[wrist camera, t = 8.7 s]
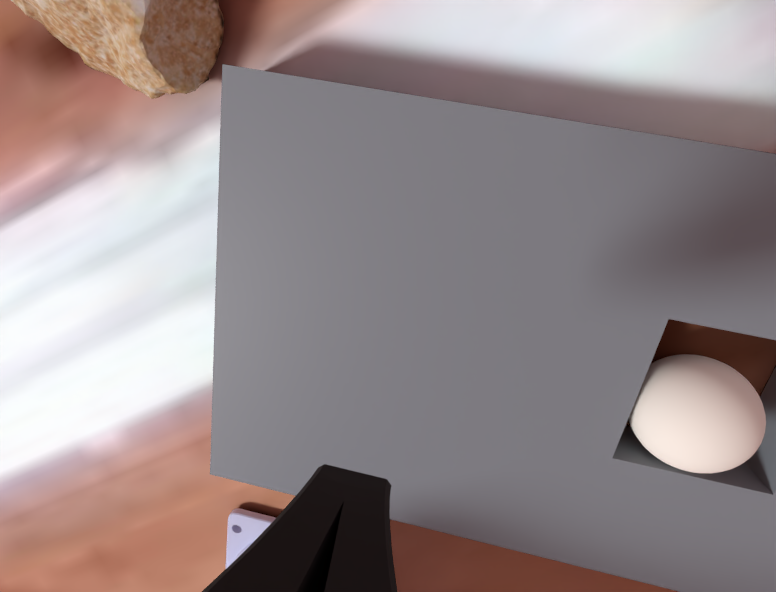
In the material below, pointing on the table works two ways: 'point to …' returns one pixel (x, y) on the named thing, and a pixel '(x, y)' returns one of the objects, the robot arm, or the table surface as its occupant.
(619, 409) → the plate
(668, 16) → the table surface
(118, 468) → the table surface
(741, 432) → the ball
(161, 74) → the stone
